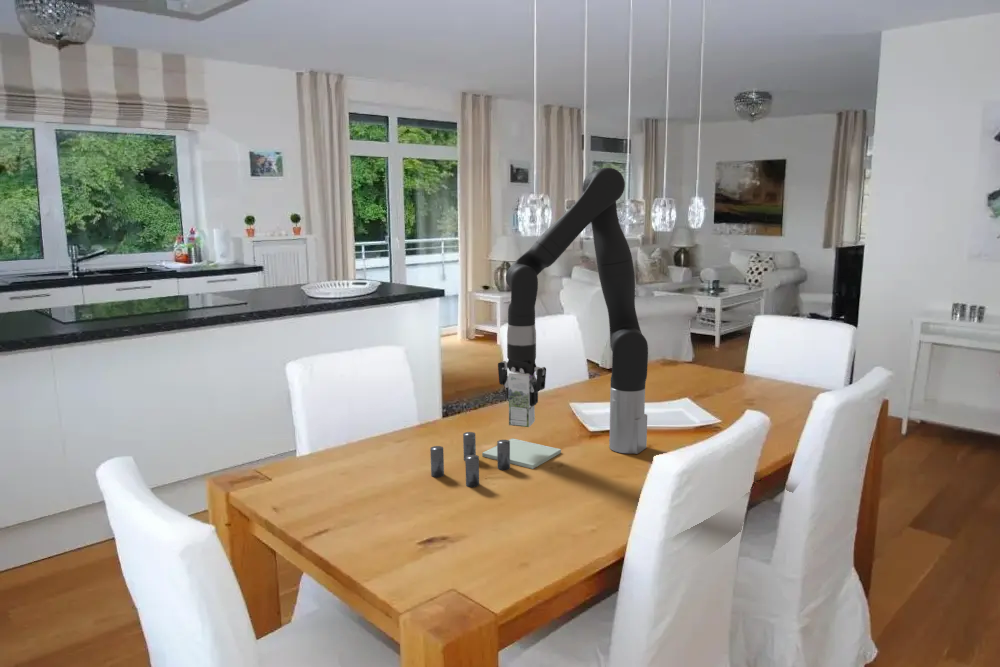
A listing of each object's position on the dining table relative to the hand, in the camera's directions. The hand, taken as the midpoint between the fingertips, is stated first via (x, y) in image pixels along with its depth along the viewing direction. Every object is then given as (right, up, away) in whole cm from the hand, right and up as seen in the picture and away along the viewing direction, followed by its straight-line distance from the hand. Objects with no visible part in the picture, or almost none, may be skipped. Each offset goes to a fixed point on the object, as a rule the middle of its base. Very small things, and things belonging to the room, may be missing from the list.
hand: (521, 402), depth 185 cm
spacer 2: (-14, -15, 0) cm, 20 cm away
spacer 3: (-12, -18, -17) cm, 28 cm away
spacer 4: (-5, -16, -7) cm, 18 cm away
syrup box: (0, -6, +1) cm, 6 cm away
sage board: (0, -14, +3) cm, 14 cm away
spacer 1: (-21, -17, -11) cm, 29 cm away
